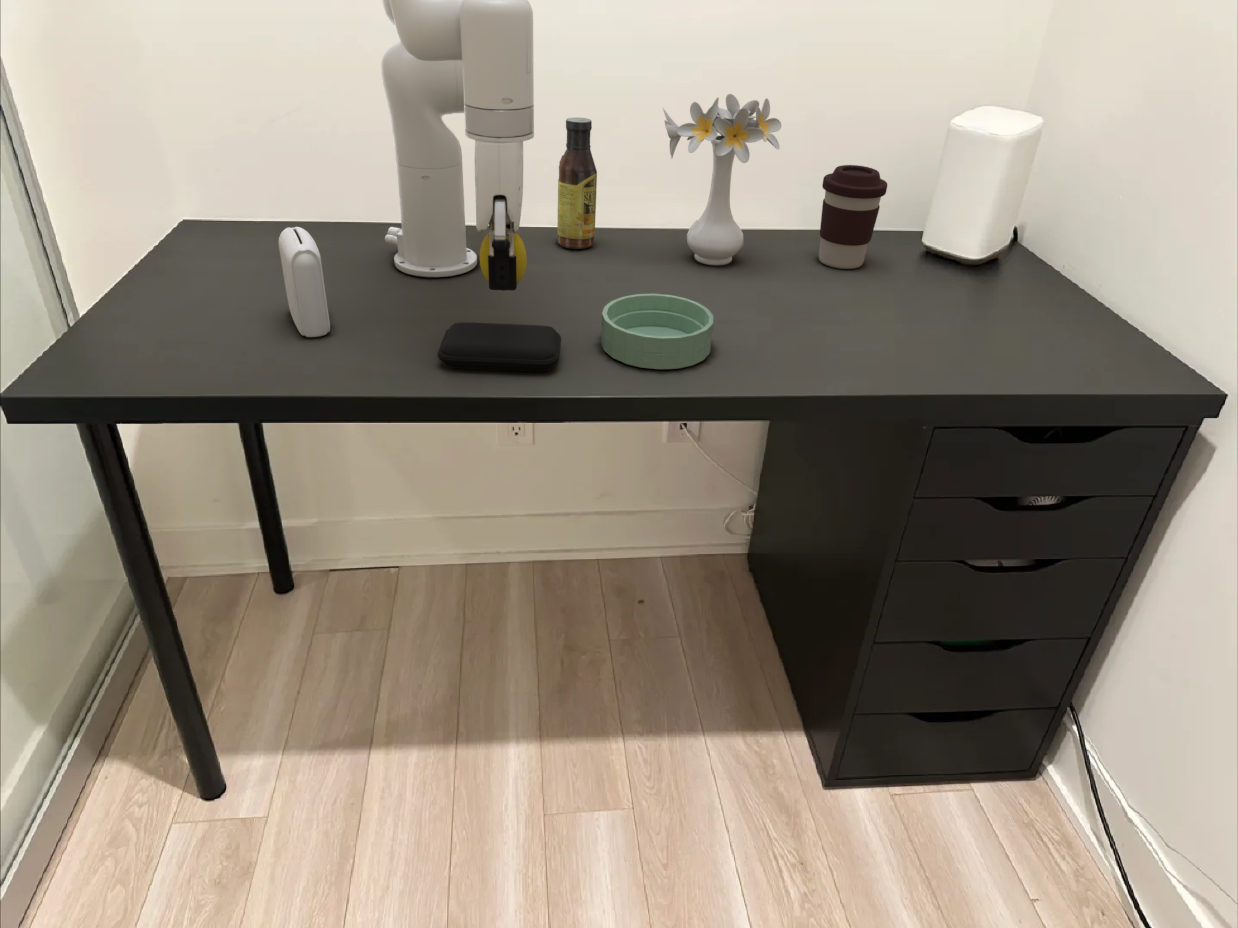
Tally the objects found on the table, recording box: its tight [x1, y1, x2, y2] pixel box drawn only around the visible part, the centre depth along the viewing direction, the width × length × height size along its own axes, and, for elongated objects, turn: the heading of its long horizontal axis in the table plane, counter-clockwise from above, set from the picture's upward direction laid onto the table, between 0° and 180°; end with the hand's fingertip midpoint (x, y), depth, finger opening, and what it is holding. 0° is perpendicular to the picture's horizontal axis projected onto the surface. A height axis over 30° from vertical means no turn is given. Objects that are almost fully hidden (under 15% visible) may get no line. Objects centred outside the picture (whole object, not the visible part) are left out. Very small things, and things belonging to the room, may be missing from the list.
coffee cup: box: [818, 164, 888, 270], centre depth 143 cm, size 10×10×15 cm
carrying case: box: [436, 321, 562, 373], centre depth 111 cm, size 11×3×15 cm
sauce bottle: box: [556, 117, 598, 250], centre depth 143 cm, size 7×6×20 cm
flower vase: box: [662, 93, 783, 266], centre depth 138 cm, size 13×18×25 cm
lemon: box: [479, 228, 528, 292], centre depth 105 cm, size 6×6×8 cm
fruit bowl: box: [600, 293, 715, 370], centre depth 115 cm, size 14×14×4 cm
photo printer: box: [277, 226, 331, 338], centre depth 114 cm, size 10×4×12 cm, turn 26°
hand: (503, 277), depth 107 cm, fingers closed on lemon, 5 cm apart
